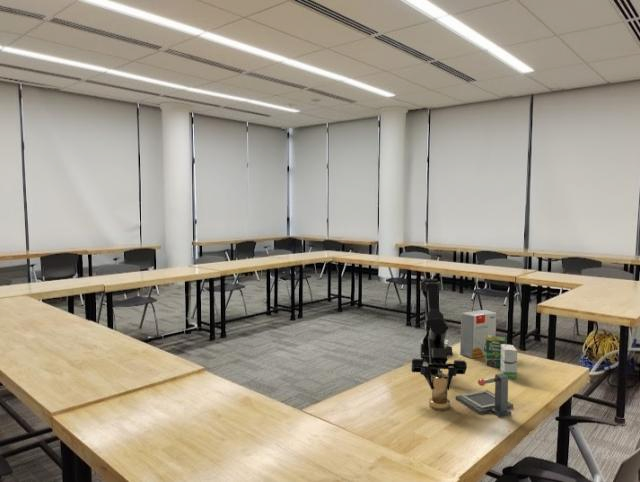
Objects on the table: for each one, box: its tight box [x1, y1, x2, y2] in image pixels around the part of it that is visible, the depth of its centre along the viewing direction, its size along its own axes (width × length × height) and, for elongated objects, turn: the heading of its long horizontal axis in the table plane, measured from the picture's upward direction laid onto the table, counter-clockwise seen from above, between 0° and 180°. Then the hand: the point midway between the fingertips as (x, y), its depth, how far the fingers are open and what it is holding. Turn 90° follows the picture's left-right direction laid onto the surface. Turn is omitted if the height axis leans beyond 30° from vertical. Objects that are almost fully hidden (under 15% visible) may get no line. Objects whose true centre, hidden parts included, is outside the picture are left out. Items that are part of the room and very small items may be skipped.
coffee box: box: [485, 335, 507, 368], centre depth 194 cm, size 8×3×13 cm, turn 59°
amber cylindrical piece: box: [428, 370, 451, 412], centre depth 155 cm, size 7×7×12 cm
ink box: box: [499, 343, 518, 380], centre depth 183 cm, size 9×5×12 cm, turn 168°
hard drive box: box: [459, 309, 497, 359], centre depth 209 cm, size 16×8×20 cm, turn 117°
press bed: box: [455, 372, 514, 418], centre depth 155 cm, size 17×16×13 cm
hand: (440, 389), depth 153 cm, fingers closed on amber cylindrical piece, 5 cm apart
